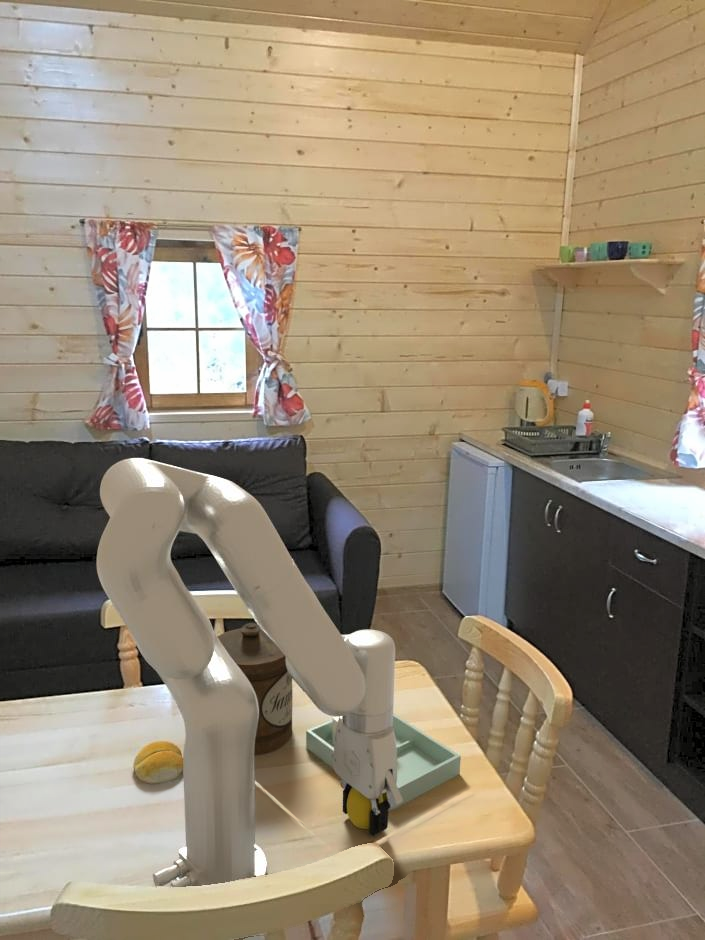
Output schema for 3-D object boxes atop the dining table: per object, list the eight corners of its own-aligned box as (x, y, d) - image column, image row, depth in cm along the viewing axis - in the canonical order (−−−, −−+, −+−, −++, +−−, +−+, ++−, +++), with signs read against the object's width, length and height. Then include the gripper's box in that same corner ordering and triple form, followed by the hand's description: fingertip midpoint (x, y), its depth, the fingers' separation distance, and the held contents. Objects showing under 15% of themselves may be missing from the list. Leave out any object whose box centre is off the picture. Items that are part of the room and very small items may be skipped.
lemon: (379, 843, 119) (380, 796, 117) (342, 837, 120) (343, 790, 118) (385, 819, 124) (386, 773, 122) (350, 814, 125) (351, 768, 124)
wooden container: (289, 759, 139) (289, 643, 134) (204, 758, 139) (200, 642, 134) (294, 714, 154) (295, 607, 148) (217, 713, 153) (215, 606, 148)
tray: (388, 815, 125) (389, 792, 124) (306, 750, 142) (306, 730, 141) (459, 776, 135) (460, 755, 134) (374, 720, 152) (375, 701, 151)
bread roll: (178, 750, 142) (178, 729, 141) (188, 779, 134) (187, 757, 133) (130, 759, 139) (129, 738, 138) (137, 789, 131) (136, 768, 130)
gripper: (312, 697, 122) (311, 801, 126) (387, 749, 109) (383, 863, 113) (350, 683, 126) (348, 783, 131) (426, 730, 114) (421, 840, 118)
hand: (364, 819), depth 122 cm, fingers closed on lemon, 5 cm apart
